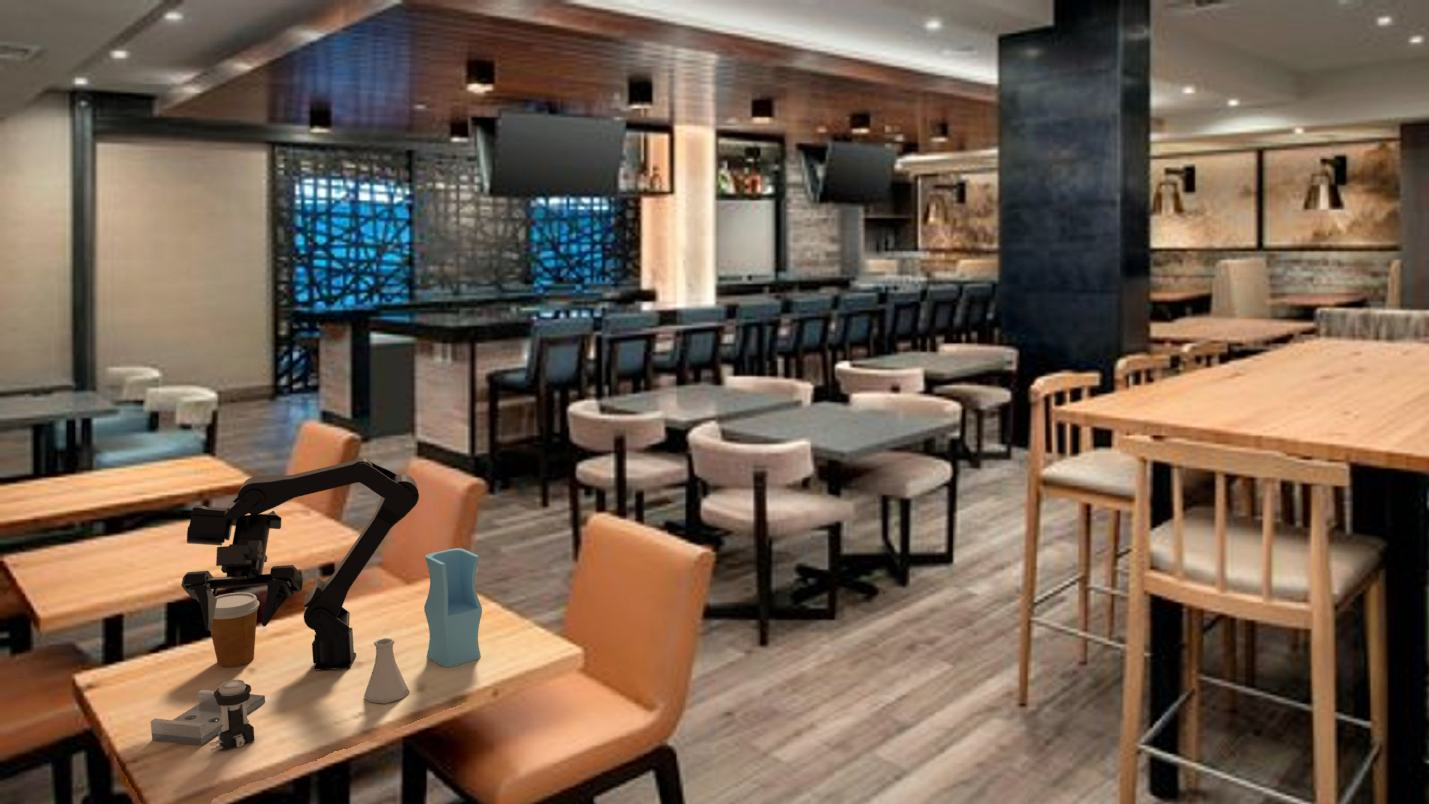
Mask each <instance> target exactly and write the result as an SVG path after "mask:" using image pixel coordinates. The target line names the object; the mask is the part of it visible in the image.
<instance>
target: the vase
mask: <svg viewBox="0 0 1429 804" xmlns="http://www.w3.org/2000/svg"><path fill="white" fill-rule="evenodd" d="M424 557H425V562H426V565H427V568H428V574H429V588H428V589H429V590H428V593H427V598H426V601H425V603H424V606H423V607H424V608H423V610H424V615H425V617H426V621H427V625H428V630H429V632H428V633H429V640H428V641H429V643H428V648H427V649H428V650H427V652H426V653H427V654H426V657H427V658H429V659H431V660H432V661H434V662H435V663H437V664H438V665H440V666H442V667H445V668H452V667H456V666H459V665H462V664H466V663H469V662H473V661H475V660H479V659H481V657H482V655H481V651H480V645H479V629H480V623H481V619H482V614H483V607H482V604H481V602H480V600H479V597H478V594H477V589H476V573H477V567H478V564H479V560H480V555H477V554H475V553H474V552H472V551H468V550H466V549H464V548H460V547H456V548H455V547H454V548H451V549H445V550H441V551H437V552H431V553H428V554H426V555H424Z"/></svg>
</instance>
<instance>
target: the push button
mask: <svg viewBox="0 0 1429 804" xmlns="http://www.w3.org/2000/svg"><path fill="white" fill-rule="evenodd" d="M214 691H215V692H214V697H215V698H216V702H217V704H218V705H221V711H222V724H223V727H222V728H221V730H222V731H220V732H219V733H218V735H217V737H218V739H217V740H216V741H212V742H210V743H209V746H215V745H216V746H215V747H212V748H210V749H209V751H211V752H213V751H217V750H221V749H222V750H223V751H228V750H232V749H234V748H241V747H242V746H244V745H246V744H251V743H254V742H255V728H254V726H253V725H251V724H250V720H249V719H248V714H247V710H246V701H247V700H248V699H249V698H250V694H251V691H252V686H251V685H250V684H247V683H245V681H244V680H242V679H231V680H226V681H224V682H222V683H221V684H220V685H219V687H218V688H217V689H215V690H214ZM227 707H228V709H227Z"/></svg>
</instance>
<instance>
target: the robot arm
mask: <svg viewBox="0 0 1429 804" xmlns="http://www.w3.org/2000/svg"><path fill="white" fill-rule="evenodd" d="M357 483H360V484H362V485H363V486H365V488H368V489H370V491H372V492H374V493H375V494H377V495H378V496H380V499H379V502H378V504H377V506H376V510H375V512H374V513H373V516H372V517H371V519H370V520H369V521H368V523H367V524H366V525H365V527H364V529H363V530H362V531H361V533H360V534H359V536H358V537H357V539H356V540H355V541H354V543H353V545H352V546H351V547H350V549H349V550H348V551H347V553H346V555H345V556H344V557H343V559H342V560H341V562H340V564H338V566H337V568H335V570H334V572H333V573H332V574H331V575H330V576H329V577H328V578H327V579H326V580H324V581H323V580H322V579H320V578H319V577H318V578H316V580H315V583H314V585H313V587H312V589H310V591H309V592H307V593H306V594H305V598H304V603H303V607H304V611H303V622H304V624H305V625H306V626H307V628H309V629H310V630H313V631H314V632H315V634H314V639H313V641H312V643H311V649H312V662H313V664H314V666H313V670H314V671H321V670H323V671H324V670H325V671H326V670H339V669H341V670H342V669H349V668H351V667H352V664H353V663H354V661H355V659H356V657H357V652H355V649H354V634H353V627H350V611H348V610H347V609H345V608H344V607H343V606H344V602H345V600H346V598H347V596H348V593H349V590H350V589H351V587H352V586H353V585H354V583H355V581H356V580H357V579H358V578H359V575H360V574H361V572H362V571H363V570H364V568H365V567H366V566H367V564H368V562H369V561H370V560H371V558H372V556H373V555H374V554H375V552H376V551H377V549H378V548H379V547H380V545H381V544H382V543H383V541H384V539H385V538H386V536H387V535H388V534H389V532H390V531H391V529H392V528H393V527H394V526H395V525H396V524H398V523H399V522H401V520H403V519H404V518H405V517H406V516H407V515H408V514H410V512H411V511H412V510H413V509H414V508H415V507H416V506H417V503H418V501H419V499H420V495H419V489H418V485H417V482H416V481H415V479H414V478H413V477H411V476H410V475H408V474H397V473H394V472H393V471H392V470H390V469H387V468H385V467H383V466H380V465H378V464H376V463H375V462H373V461H371V460H370V459H369V458H365V457H359V458H358V457H357V458H356V459H353V460H351V461H346V462H342V463H337V464H333V465H329V466H325V467H319V468H315V469H311V470H308V471H303V472H300V473H299V472H298V473H295V474H287V475H285V474H283V475H281V474H269V475H268V474H267V475H257V476H254V475H253V476H252V477H249V478H247V479H246V480H245V481H244V482H243V484H242V485H241V486H240V489H239V491H238V493H237V496H236V498H234V499H233V501H230V503H229V504H228V507H227V508H226V507H211V506H205V505H200V504H195V505H193V507H192V511H191V516H190V519H189V520H190V521H189V525H188V527H187V532H186V544H191V545H205V546H206V545H209V546H217V547H216V558H215V559H216V560H215V566H216V567H219V566H220V567H221V569H220V571H221V572H222V573H223V574H226V576H222V577H221V576H218V577H214V576H213V575H212V574H211V573H210V571H209V570H201V571H199V570H198V571H188V572H187V573H185V575H184V576H182V580H181V585H180V586H181V588H182V589H183V590H184V591H185V592H186V593H187V595H188V596H189V597H190V598H191V599H193V600H196V602H198V603H199V604H200V609H201V613H202V618H203V623H204V628H205V630H206V631H208V632H209V631H210V629H211V626H212V623H213V618H214V613H215V608H216V603H217V599H216V598H215V597H216V595H218V589H219V590H220V589H233V588H243V587H244V588H246V587H249V588H251V587H261V586H262V587H263V586H267V594H266V599H265V604H264V606H263V611H262V616H261V626H262V627H263V628H264V627H267V625H268V624H269V623H270V621H271V619H272V618H273V617H274V615H275V614H276V612H277V611H278V609H279V608H280V607H281V606H282V604H284V603H285V601H286V599H288V598H290V597H293V596H294V594H295V593H300V592H301V591H302V590H303V583H304V582H303V577H302V575H301V573H300V572H299V571H298V569H297V567H296V566H295V565H293V564H286V565H273V566H272V567H271V568H270V571H269V573H265V574H263V572H264V565H265V563H267V562H268V555H267V554H266V552H267V548H268V542H269V535H270V534H269V533H270V529H271V530H272V529H273V530H280V529H282V517H281V516H279V515H278V514H277V513H276V511H275V510H272V509H274V508H277V507H279V506H281V505H282V504H284V503H286V502H288V501H291V500H293V499H295V498H299V497H303V496H308V495H311V494H315V493H319V492H323V491H328V490H332V489H336V488H340V487H344V486H348V485H353V484H357ZM269 510H272V511H270V512H267V511H269ZM264 512H267V513H264ZM233 526H234V533H233V538H232V544H228V545H226V546H224V545H223V544H224V543H226V542H225V541H230V539H231V535H232V530H233V529H232V528H233ZM222 545H223V546H222ZM210 632H211V631H210Z"/></svg>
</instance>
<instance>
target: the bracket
mask: <svg viewBox="0 0 1429 804" xmlns="http://www.w3.org/2000/svg"><path fill="white" fill-rule="evenodd" d="M215 691H216V690H209V689H201V690H200V691H198V692H197V695H198V703H197V704H196V705H194V706H192V707H191V708H190V709H188V710H186V711H185V712H182V714H179V715H178V716H177V717H175V718H173V719H164V718H163V719H162V718H153V719H151V720H150V731H151V740H152V741H156V742H165V743H166V742H167V743H176V744H183V745H193V746H200V747H201V746H203V745H205V744H206V743H208V742H209V741H210V740H212V739H214V738H215V737H217V736H218V733H219V732H220V731H222V730H221V728H222V727H223V724H222V711H221V705H218V704H217V702H216V698H215V697H214V692H215ZM265 703H266V695H263V694H254V693H253V694H252V693H250V698H249V699H248V700H247V701H246V710H247V715H249V714H250V713H251V712H253V711H255V710H256V709H257V708H259V707H260V706H262V705H264V704H265ZM227 709H228V707H227Z"/></svg>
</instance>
